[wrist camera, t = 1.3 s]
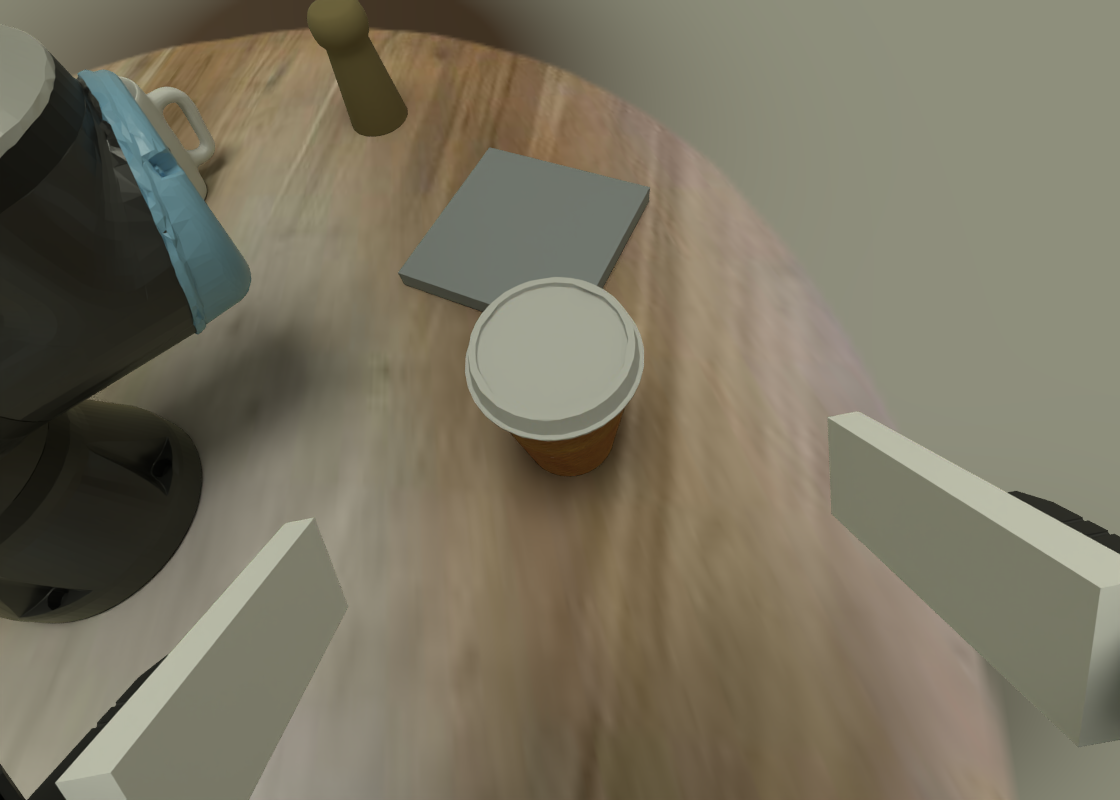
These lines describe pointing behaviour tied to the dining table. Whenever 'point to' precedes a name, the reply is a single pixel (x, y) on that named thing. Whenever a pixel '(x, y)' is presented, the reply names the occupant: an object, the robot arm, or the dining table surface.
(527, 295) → the disposable coffee cup
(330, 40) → the olive pawn
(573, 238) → the slate board
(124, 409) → the robot arm
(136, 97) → the mug
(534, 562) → the dining table surface
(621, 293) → the dining table surface
